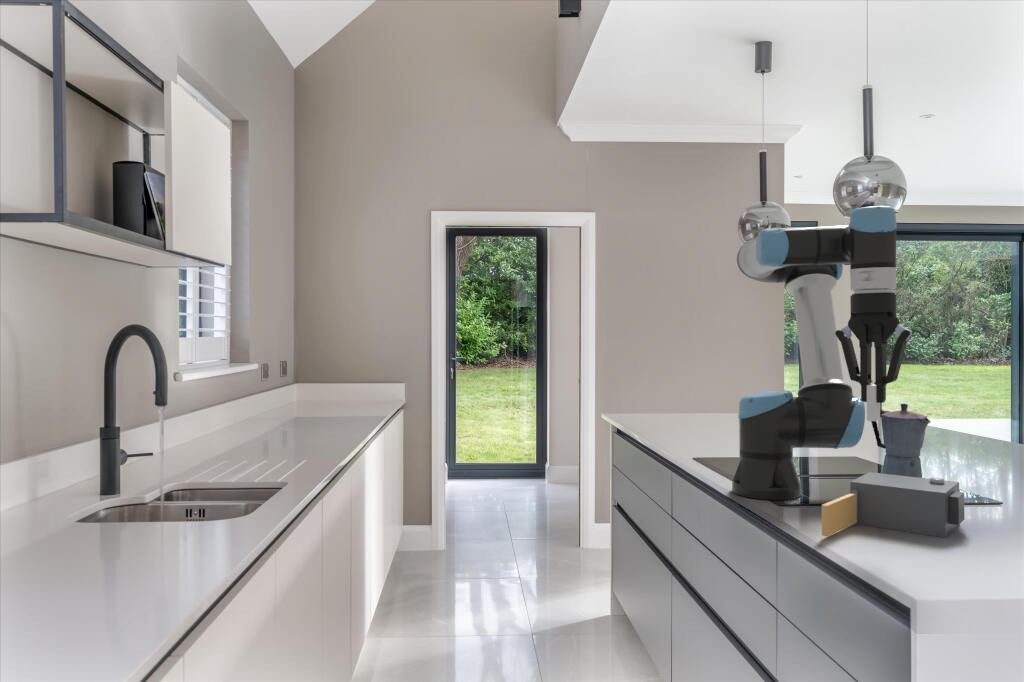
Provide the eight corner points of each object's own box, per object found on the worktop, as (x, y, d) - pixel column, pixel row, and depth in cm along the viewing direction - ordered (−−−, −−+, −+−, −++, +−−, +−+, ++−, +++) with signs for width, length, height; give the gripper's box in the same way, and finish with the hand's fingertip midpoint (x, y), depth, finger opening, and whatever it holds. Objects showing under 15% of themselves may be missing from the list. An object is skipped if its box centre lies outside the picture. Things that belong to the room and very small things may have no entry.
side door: (853, 522, 138) (853, 489, 138) (858, 523, 137) (858, 490, 137) (822, 537, 128) (821, 502, 128) (827, 538, 128) (827, 503, 128)
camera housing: (850, 522, 138) (850, 477, 138) (869, 510, 147) (869, 468, 147) (955, 539, 127) (955, 489, 127) (969, 525, 136) (968, 478, 135)
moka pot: (918, 496, 159) (917, 407, 159) (856, 484, 173) (856, 401, 172) (944, 491, 163) (943, 404, 163) (882, 479, 177) (881, 399, 177)
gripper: (828, 293, 133) (829, 419, 133) (906, 290, 124) (906, 425, 124) (843, 293, 138) (843, 415, 139) (918, 290, 129) (918, 420, 130)
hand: (873, 419), depth 132 cm, fingers closed
